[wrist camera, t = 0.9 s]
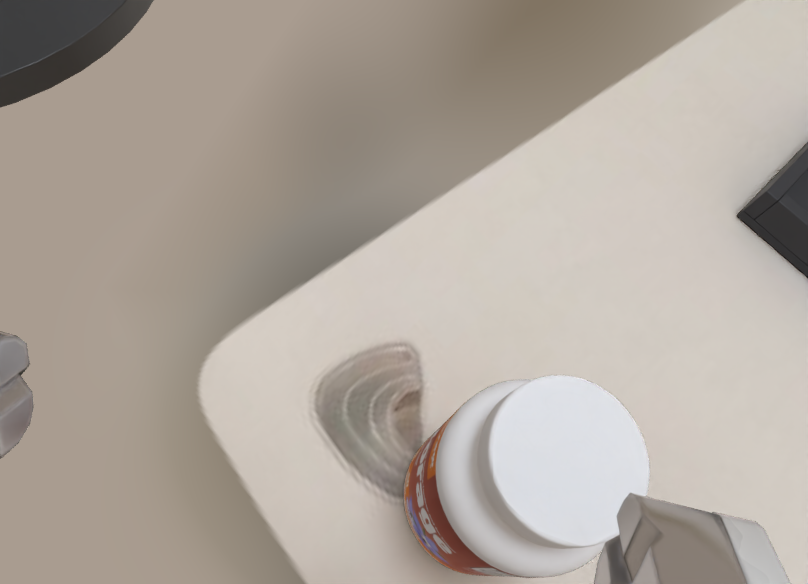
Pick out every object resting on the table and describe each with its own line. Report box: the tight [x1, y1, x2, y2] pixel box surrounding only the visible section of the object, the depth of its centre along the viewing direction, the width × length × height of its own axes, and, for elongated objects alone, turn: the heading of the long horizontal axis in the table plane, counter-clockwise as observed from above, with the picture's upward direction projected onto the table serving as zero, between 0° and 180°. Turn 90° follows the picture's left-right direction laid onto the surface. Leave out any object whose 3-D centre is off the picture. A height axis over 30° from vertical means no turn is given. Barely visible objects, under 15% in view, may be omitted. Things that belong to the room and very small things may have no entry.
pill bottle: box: [404, 375, 650, 578], centre depth 22 cm, size 6×6×11 cm
